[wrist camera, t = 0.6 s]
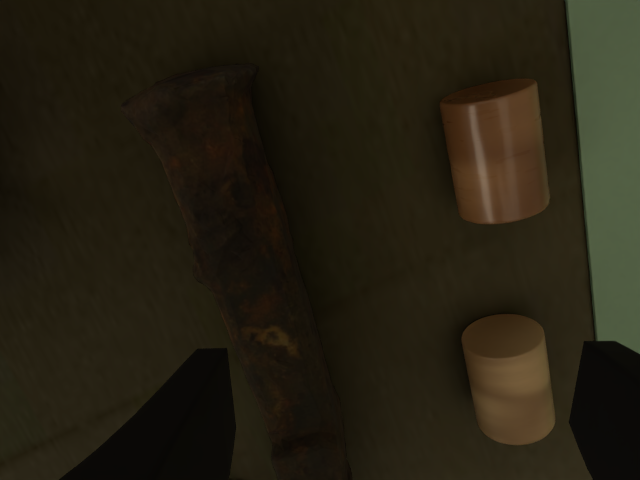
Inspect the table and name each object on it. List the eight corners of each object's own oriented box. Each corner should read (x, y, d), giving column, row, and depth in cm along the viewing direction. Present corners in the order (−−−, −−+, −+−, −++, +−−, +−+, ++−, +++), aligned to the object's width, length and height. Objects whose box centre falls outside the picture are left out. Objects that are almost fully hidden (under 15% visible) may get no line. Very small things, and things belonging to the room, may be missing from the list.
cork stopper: (445, 208, 20) (480, 233, 17) (425, 99, 19) (460, 108, 16) (522, 184, 20) (569, 206, 18) (508, 75, 19) (556, 80, 16)
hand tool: (144, 80, 19) (91, 98, 15) (258, 52, 18) (239, 63, 14) (280, 492, 26) (272, 588, 21) (365, 478, 25) (374, 572, 21)
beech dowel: (479, 393, 24) (474, 444, 22) (464, 315, 23) (457, 359, 20) (553, 393, 23) (557, 447, 20) (543, 311, 21) (545, 357, 19)
